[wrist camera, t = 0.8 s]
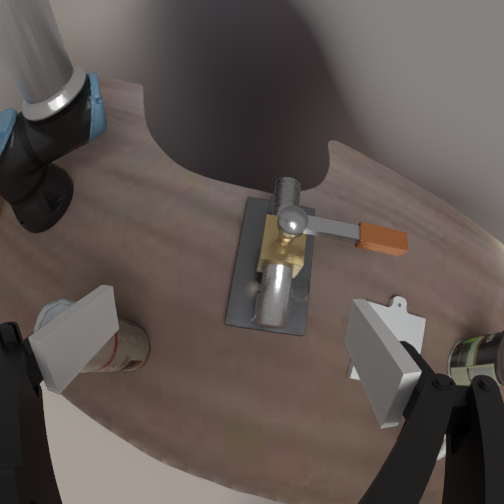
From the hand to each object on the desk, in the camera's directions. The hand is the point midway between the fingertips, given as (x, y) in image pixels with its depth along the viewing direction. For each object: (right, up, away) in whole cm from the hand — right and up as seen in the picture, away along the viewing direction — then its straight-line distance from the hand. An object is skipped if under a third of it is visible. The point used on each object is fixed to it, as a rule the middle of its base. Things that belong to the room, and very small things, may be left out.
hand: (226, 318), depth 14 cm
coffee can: (+44, -19, +27) cm, 55 cm away
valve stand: (+5, +1, +32) cm, 32 cm away
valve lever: (+12, +5, +19) cm, 23 cm away
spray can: (-18, -12, +25) cm, 33 cm away
